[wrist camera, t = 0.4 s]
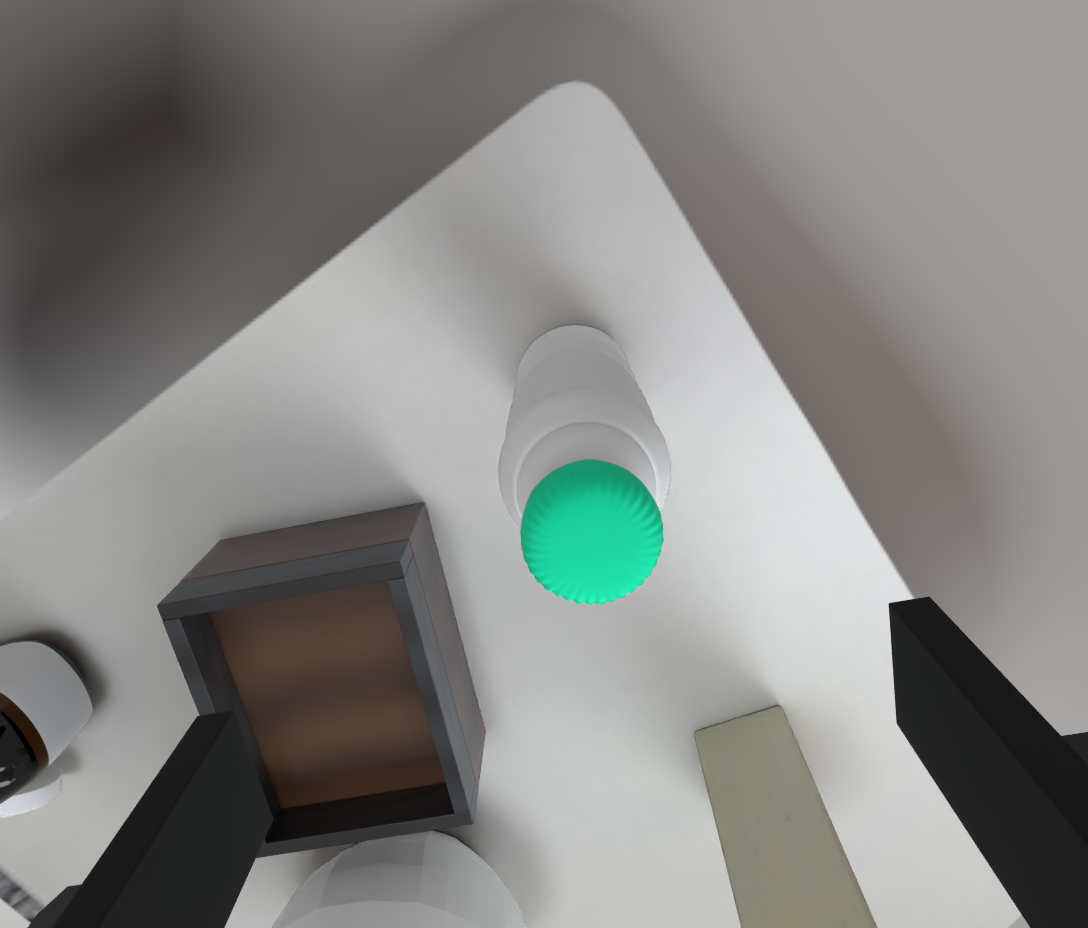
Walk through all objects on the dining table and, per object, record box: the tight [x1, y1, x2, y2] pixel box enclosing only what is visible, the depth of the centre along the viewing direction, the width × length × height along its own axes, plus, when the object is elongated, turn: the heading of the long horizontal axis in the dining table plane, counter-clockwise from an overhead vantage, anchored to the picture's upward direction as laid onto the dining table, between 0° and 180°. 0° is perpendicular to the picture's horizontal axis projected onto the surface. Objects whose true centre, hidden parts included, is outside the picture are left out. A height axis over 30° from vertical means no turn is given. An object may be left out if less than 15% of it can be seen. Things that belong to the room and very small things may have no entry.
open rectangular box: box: [157, 502, 486, 858], centre depth 51 cm, size 18×14×9 cm
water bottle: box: [499, 325, 671, 604], centre depth 38 cm, size 7×7×25 cm
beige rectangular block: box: [694, 706, 877, 928], centre depth 48 cm, size 8×7×21 cm
